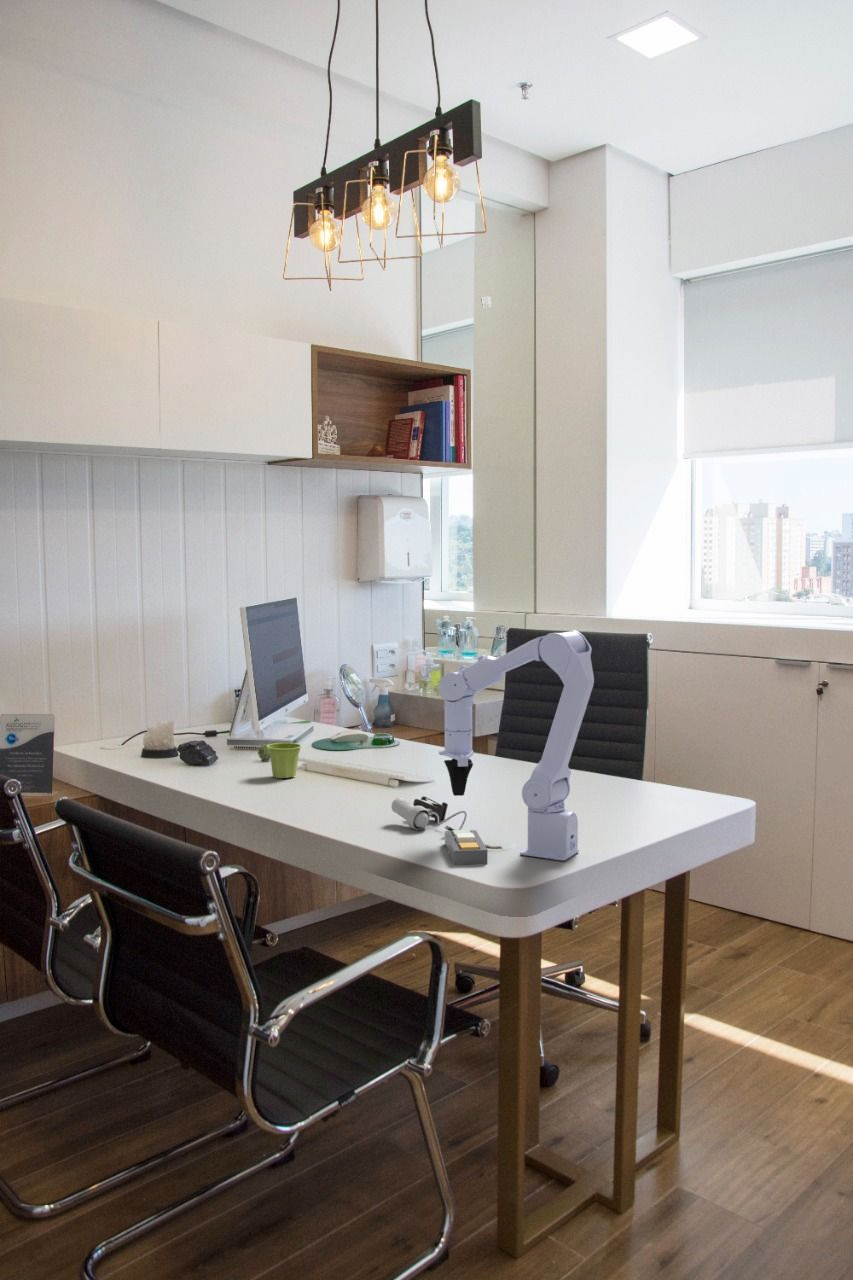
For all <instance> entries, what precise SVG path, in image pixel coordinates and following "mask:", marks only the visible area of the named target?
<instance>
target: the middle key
mask: <svg viewBox="0 0 853 1280" xmlns="http://www.w3.org/2000/svg"><path fill="white" fill-rule="evenodd" d="M470 842H475V836H474V834H473V833H456V843H470Z"/></svg>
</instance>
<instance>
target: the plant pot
mask: <svg viewBox="0 0 853 1280" xmlns="http://www.w3.org/2000/svg"><path fill="white" fill-rule="evenodd" d="M266 748H267V749H268V750H267V751H268V753H269V757H270V764H271V772H272V778H275V777H276V778H275V779H277V778H287V779H288V778H289V779H291V778H290V777H294V776H296V775H297V768H298V759H299V754H300V751H301V749H302V744H300V743H295V742H275V743H269V744H267V745H266ZM294 778H295V777H294Z"/></svg>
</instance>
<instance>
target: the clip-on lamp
mask: <svg viewBox="0 0 853 1280" xmlns="http://www.w3.org/2000/svg"><path fill="white" fill-rule="evenodd" d="M412 803H413V804H412ZM412 803H410V802H409V801H407V800H405V799H404V798H401V797H398V798H395V799H394V800H393V801H392V803H391V811H392V812H394V813H395V814H397V815H398V816H399V817H401V818H403V819H404V820H406V824H407V825H408V827H409V828H411V829H413V830H415V831H418V830H423V829H424V828H426V827H427V825H428V824H429V822H430V818H433V819H434V823H435V824H437V825H439V826H440V825H442V824H444V823H446V822H448V821H449V820H451V819H452V818H454V817H456V816H457V815H460V814H464V817H463V821H462V823H461V825H460V827H459V828H458V829H457V830H462V828H463V827H464V824H465V822H466V820H467V812H466V811H465V810H460V811H458V812H456V813H454V814H452V815H450V816H448V817H447V818H446V814H447V810H448V807H449V806H448V805H449V804H448V803H447V802H442V803H439V802H437V801H435V800H433V799H431V798H429V797H426V796H424V795H423V796H422V797H421V798H415V799H414V800H413V802H412ZM444 829H445V830H446V831H453V830H455V829H454V828H452V827H450V826H448V825H446V826H445V827H444Z"/></svg>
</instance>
